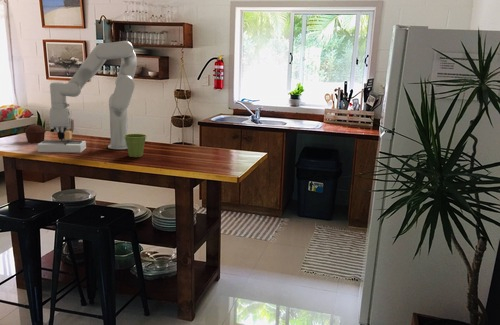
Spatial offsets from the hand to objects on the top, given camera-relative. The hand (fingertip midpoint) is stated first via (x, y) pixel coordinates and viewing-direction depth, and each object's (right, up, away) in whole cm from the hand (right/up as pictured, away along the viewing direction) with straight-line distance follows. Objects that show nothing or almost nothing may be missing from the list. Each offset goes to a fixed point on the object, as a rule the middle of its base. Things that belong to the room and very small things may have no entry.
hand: (61, 139), depth 232 cm
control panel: (0, -6, +2) cm, 6 cm away
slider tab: (+4, -2, +1) cm, 4 cm away
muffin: (-23, -1, +19) cm, 30 cm away
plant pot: (+42, -10, -5) cm, 44 cm away
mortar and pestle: (-9, 0, +25) cm, 27 cm away
